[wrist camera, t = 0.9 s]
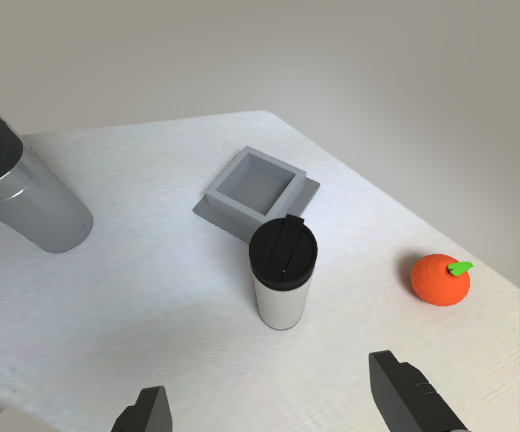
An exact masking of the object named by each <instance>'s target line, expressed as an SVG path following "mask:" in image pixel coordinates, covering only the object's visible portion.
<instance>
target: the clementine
mask: <svg viewBox="0 0 520 432" xmlns="http://www.w3.org/2000/svg"><path fill="white" fill-rule="evenodd" d="M471 267H473V265H472V264H471V263H470V262H458V261H457V260H456V259H454V258H452V257H450V256H447V255H443V254H432V255H428V256H425V257H423V258H422V259H420V260H418V262H417V263H416V264H415V265H414V267H413V269H412V271H411V283H412V287H413V289H414V291H415V292H416V294H417V295H418V296H419V297H420V298H421V299H423V300H424V301H426V302H428V303H429V304H433V305H436V306H450V305H454V304H456V303H458V302H460V301H461V300H462V299H463V298H464V297H465V296H466V295H467V293H468V290H469V287H470V278H469V275H468V272H467V270H468V269H470V268H471Z"/></svg>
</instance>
